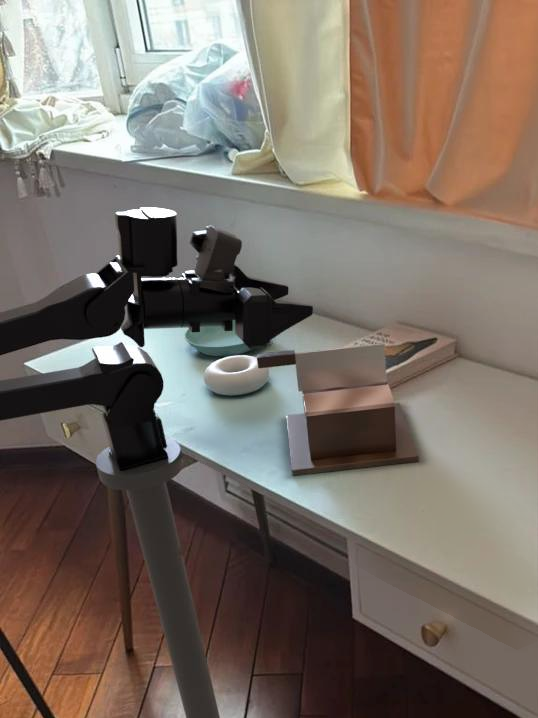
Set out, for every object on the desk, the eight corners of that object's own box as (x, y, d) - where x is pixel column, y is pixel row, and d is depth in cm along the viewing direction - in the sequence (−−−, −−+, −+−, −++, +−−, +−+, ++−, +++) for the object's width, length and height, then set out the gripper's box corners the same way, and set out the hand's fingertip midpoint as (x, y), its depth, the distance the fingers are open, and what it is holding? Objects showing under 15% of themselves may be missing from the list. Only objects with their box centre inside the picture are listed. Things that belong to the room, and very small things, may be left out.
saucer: (178, 339, 148) (175, 324, 146) (259, 323, 151) (257, 308, 150) (198, 368, 137) (195, 352, 135) (284, 349, 140) (283, 334, 139)
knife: (262, 397, 107) (256, 357, 104) (262, 392, 109) (256, 353, 105) (387, 383, 108) (385, 343, 105) (385, 379, 109) (383, 339, 106)
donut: (240, 368, 136) (192, 389, 130) (238, 347, 134) (188, 367, 128) (284, 382, 130) (235, 404, 124) (281, 360, 128) (231, 382, 122)
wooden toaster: (292, 475, 106) (285, 421, 102) (287, 420, 119) (280, 370, 115) (418, 461, 107) (417, 407, 102) (400, 407, 119) (398, 357, 115)
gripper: (196, 250, 91) (331, 250, 97) (159, 215, 105) (279, 217, 111) (197, 353, 97) (324, 347, 103) (162, 307, 111) (275, 304, 117)
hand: (299, 299), depth 108 cm, fingers open, 9 cm apart
